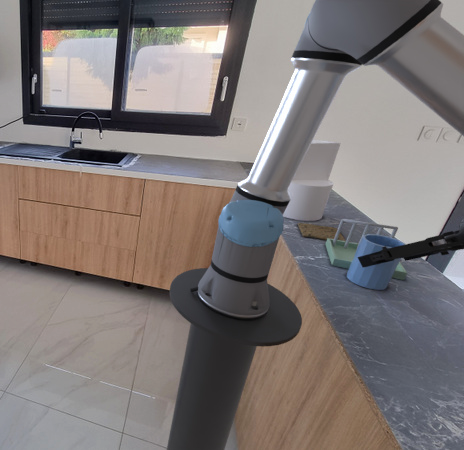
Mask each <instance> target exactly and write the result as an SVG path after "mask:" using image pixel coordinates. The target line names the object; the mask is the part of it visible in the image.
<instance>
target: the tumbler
mask: <svg viewBox="0 0 464 450" xmlns="http://www.w3.org/2000/svg"><path fill="white" fill-rule="evenodd" d="M361 237H362V236H361ZM360 239H361V238H360ZM359 242H360V244H359V243H358V244H359V246H358V248H357V251H356V253H355V256H354V258H353V260H352V263H351V265H350V268H349V269H348V270H347V273H346V278H347V280H349V281H350V282H352V283H353V284H355V285H357V286H360V287H363V288H366V289H371V290H376V291H377V290H378V291H381V290H386V289H387V288H388V286H389V284H390V282H391V280H392V279H393V278H392V276H393V274H394V272H395V270H396V268H397V266H398V264H399V262H400V263H401V260H402V258H399V259H395V260H394V261H389V262H385V263H381V264H377V265H373V266H368V267H364V268H363V267H362V265H361V263H360V261H359V260H358V258H357V257H360V256H364V255H367V254H371V253H375V252H379V251H381V250H382V249H383V248H382V247H385V246H386V248H387V249H389V248H393V247H397V246H401V245H405V244H406V243H405V242H403V241H401V240H399V239H396V238H395V237H394V238H391V237H390V236H386V235H382V234H381V235H377V233H376V234H373V233H367V234H366V235H364V236H363V237H362V239H361V241H360V240H359Z"/></svg>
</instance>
